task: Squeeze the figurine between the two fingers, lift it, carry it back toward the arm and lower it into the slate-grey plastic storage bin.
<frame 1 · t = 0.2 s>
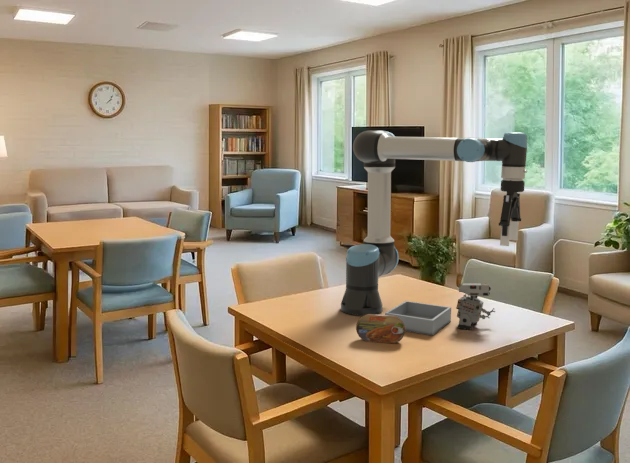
hand: (509, 242, 212), 28 cm above the table, fingers open, 13 cm apart
bin: (418, 324, 212), on the table
tin: (380, 341, 195), on the table
figurine: (473, 327, 210), on the table
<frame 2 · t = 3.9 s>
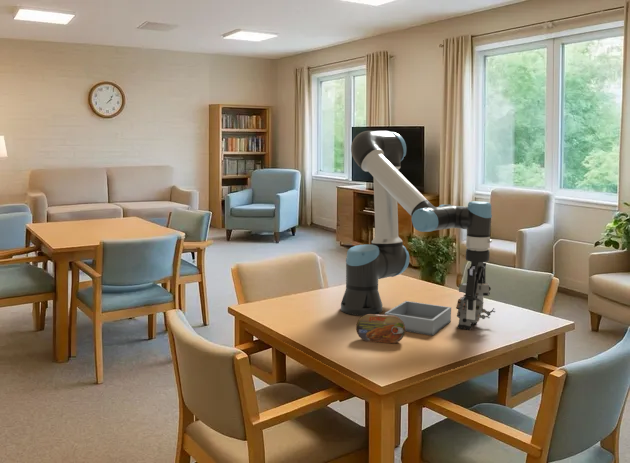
hand: (474, 315, 209), 4 cm above the table, fingers closed on figurine, 9 cm apart
figurine: (473, 327, 210), on the table, touching gripper
everything else where it was.
when the fingers open (6 cm above the table, at t = 10.8 s): figurine drops 2 cm, resting on bin.
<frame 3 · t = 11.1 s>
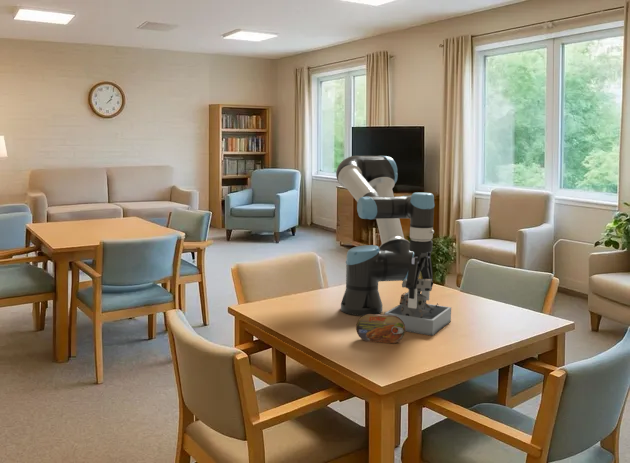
hand: (418, 303, 211), 7 cm above the table, fingers open, 11 cm apart
figurine: (417, 323, 212), point 1 cm above the table, touching bin
everything else where it was.
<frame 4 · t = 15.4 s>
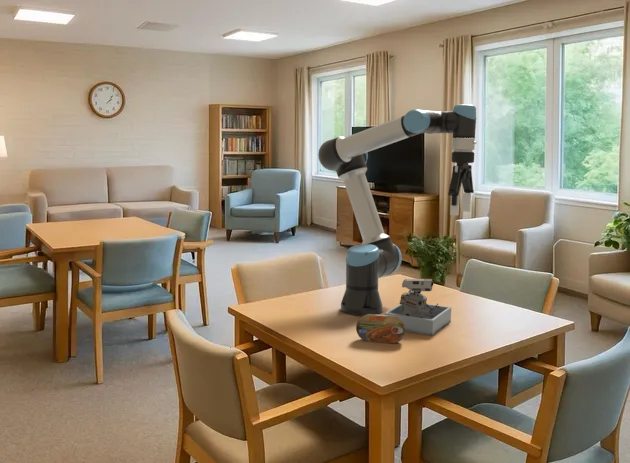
hand: (460, 213, 217), 37 cm above the table, fingers open, 13 cm apart
nothing on the table moved.
at the end: figurine inside the target area on the bin (0.4 cm from its centre), point 0.6 cm above the bin's base; the gripper is holding nothing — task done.
